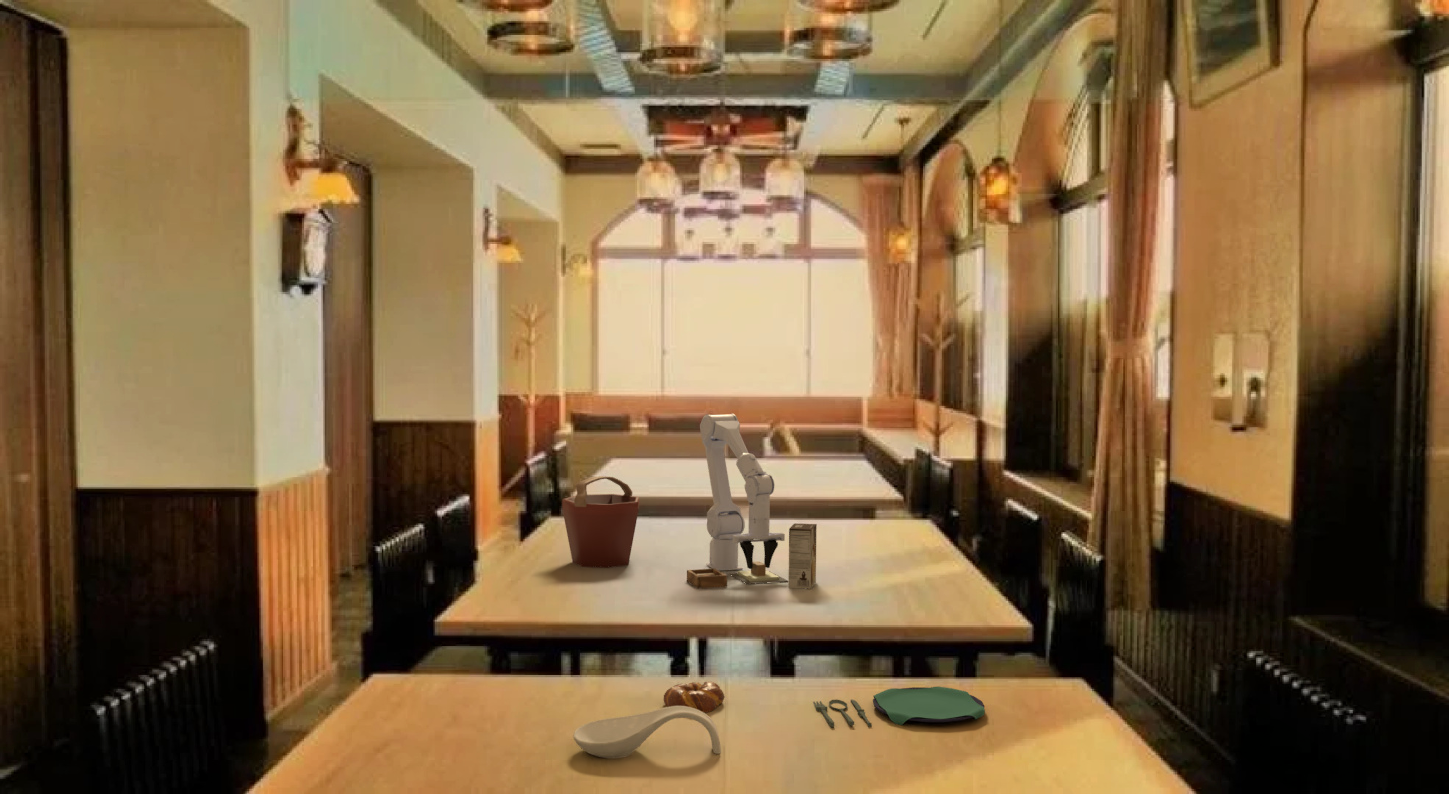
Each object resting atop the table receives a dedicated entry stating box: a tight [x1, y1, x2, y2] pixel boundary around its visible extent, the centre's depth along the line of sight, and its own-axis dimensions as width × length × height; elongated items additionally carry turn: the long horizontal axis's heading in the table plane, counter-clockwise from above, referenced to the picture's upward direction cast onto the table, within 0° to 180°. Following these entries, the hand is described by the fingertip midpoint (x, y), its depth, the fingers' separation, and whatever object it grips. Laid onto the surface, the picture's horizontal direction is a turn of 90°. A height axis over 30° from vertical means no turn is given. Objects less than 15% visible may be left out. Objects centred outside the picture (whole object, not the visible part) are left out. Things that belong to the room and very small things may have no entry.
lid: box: [736, 561, 779, 582], centre depth 336 cm, size 10×8×4 cm
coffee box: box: [788, 523, 818, 590], centre depth 327 cm, size 9×6×16 cm
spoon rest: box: [572, 706, 721, 759], centre depth 197 cm, size 24×12×7 cm, turn 95°
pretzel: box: [663, 681, 725, 713], centre depth 222 cm, size 12×11×4 cm
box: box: [686, 568, 728, 589], centre depth 328 cm, size 10×8×3 cm
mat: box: [728, 570, 789, 585], centre depth 336 cm, size 14×12×1 cm
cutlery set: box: [812, 685, 986, 728], centre depth 219 cm, size 20×30×2 cm, turn 96°
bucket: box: [561, 475, 640, 569], centre depth 356 cm, size 24×22×25 cm
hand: (758, 567), depth 336 cm, fingers open, 4 cm apart
